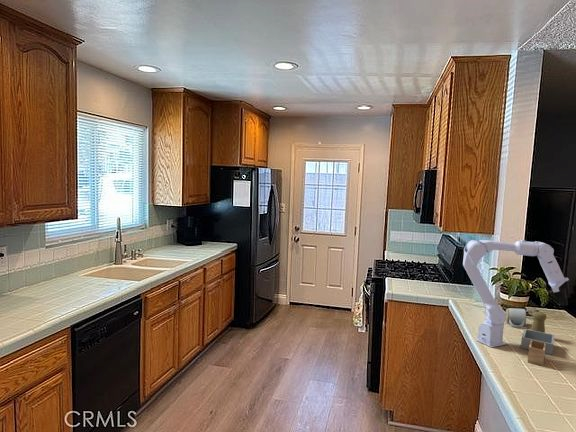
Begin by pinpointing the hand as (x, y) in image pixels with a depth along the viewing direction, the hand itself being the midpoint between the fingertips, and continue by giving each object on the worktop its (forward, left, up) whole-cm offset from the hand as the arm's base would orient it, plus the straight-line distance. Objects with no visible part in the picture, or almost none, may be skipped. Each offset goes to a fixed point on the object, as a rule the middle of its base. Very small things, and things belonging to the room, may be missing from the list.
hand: (566, 301), depth 167 cm
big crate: (-6, +6, -21) cm, 22 cm away
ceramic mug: (+10, +28, -21) cm, 36 cm away
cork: (+6, +14, -21) cm, 26 cm away
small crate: (-19, -3, -21) cm, 28 cm away
